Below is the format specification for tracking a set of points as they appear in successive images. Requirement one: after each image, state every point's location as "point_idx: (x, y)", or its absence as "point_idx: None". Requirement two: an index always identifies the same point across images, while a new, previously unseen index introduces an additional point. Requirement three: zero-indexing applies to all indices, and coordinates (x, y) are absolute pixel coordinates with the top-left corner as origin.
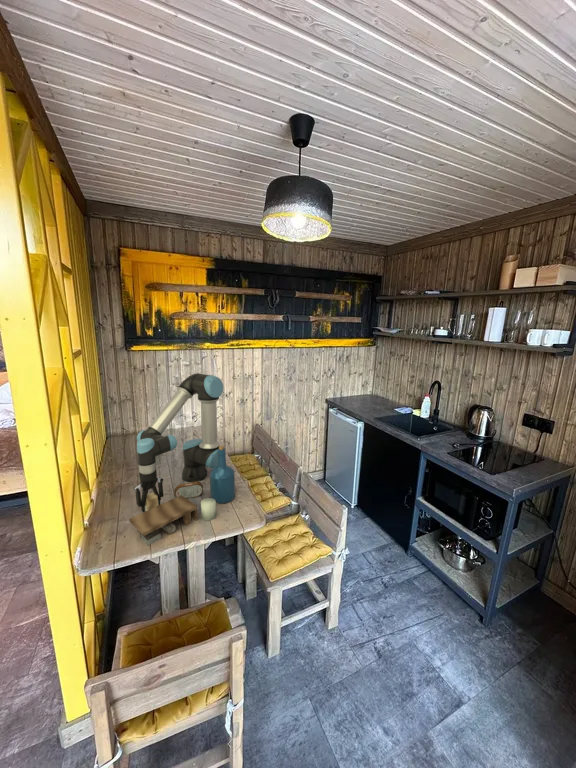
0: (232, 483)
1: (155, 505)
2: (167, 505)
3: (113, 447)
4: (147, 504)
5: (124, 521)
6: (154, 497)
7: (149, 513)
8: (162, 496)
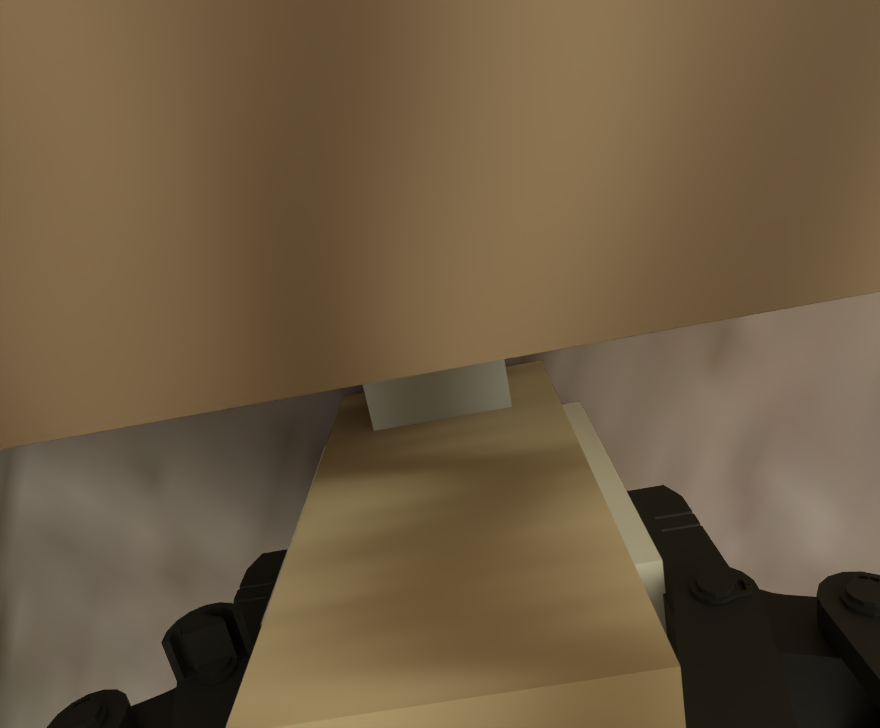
0: None
1: (379, 503)
2: (47, 211)
3: None
4: (625, 563)
5: (851, 565)
6: (360, 712)
7: (710, 101)
8: (93, 704)
